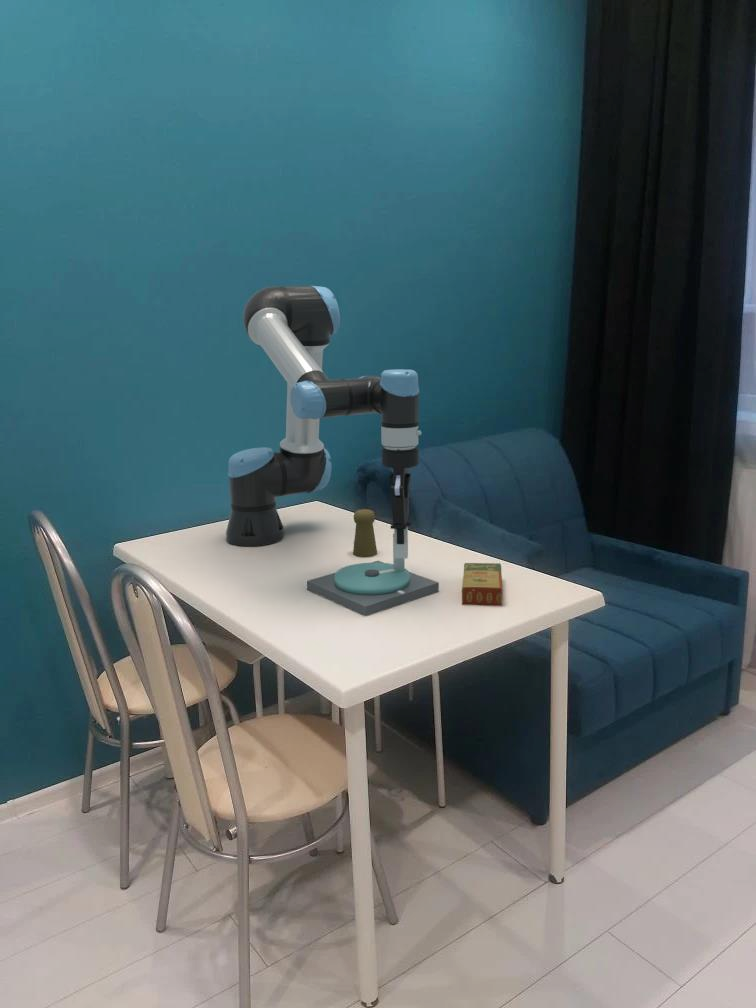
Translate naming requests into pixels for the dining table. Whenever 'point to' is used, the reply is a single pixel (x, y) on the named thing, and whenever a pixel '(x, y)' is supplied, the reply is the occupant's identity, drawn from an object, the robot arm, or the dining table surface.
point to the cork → (364, 534)
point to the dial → (373, 577)
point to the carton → (482, 584)
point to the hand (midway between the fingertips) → (401, 557)
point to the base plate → (372, 602)
